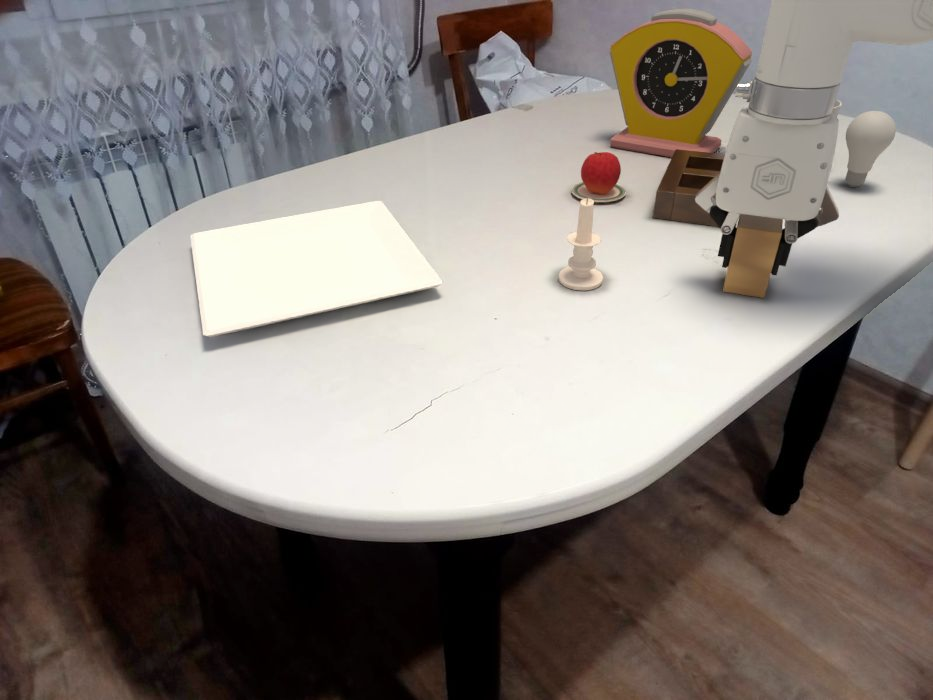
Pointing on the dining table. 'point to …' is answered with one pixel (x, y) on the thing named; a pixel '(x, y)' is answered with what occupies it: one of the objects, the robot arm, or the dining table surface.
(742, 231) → the peg
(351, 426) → the dining table surface
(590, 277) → the candle
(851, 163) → the lightbulb
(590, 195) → the apple
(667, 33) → the yellow clock scale
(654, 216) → the holder
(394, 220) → the plate
